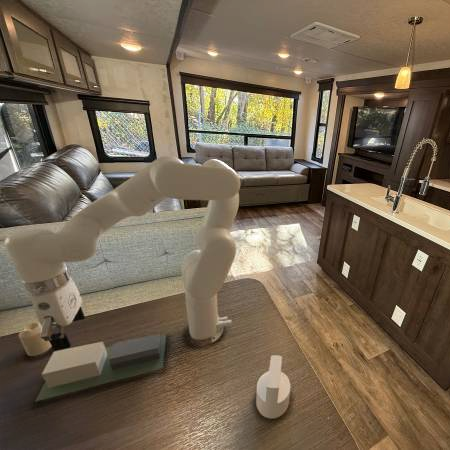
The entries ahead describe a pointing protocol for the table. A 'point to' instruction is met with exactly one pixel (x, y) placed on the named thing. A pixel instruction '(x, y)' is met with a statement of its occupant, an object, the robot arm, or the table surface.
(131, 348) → the grey book
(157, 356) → the grey book
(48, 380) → the white book
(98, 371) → the white book
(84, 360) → the white book
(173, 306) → the table surface
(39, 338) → the candle
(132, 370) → the shelf board
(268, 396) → the base with upright slab
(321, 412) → the table surface
